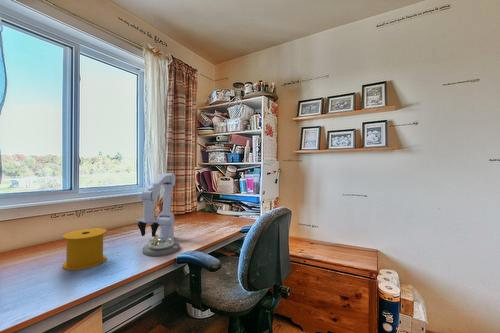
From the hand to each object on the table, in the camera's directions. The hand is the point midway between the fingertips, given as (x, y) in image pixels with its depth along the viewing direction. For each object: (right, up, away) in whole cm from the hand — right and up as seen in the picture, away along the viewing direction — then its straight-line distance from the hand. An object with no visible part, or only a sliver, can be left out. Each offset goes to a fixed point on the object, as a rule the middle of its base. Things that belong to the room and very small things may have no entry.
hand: (148, 236), depth 130 cm
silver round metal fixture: (+5, -7, +5) cm, 10 cm away
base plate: (+5, -10, +5) cm, 12 cm away
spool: (-26, -9, -13) cm, 31 cm away
